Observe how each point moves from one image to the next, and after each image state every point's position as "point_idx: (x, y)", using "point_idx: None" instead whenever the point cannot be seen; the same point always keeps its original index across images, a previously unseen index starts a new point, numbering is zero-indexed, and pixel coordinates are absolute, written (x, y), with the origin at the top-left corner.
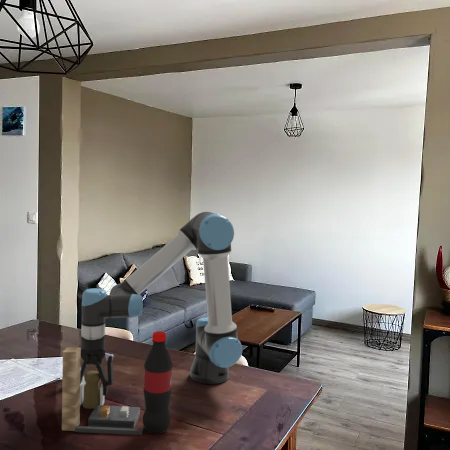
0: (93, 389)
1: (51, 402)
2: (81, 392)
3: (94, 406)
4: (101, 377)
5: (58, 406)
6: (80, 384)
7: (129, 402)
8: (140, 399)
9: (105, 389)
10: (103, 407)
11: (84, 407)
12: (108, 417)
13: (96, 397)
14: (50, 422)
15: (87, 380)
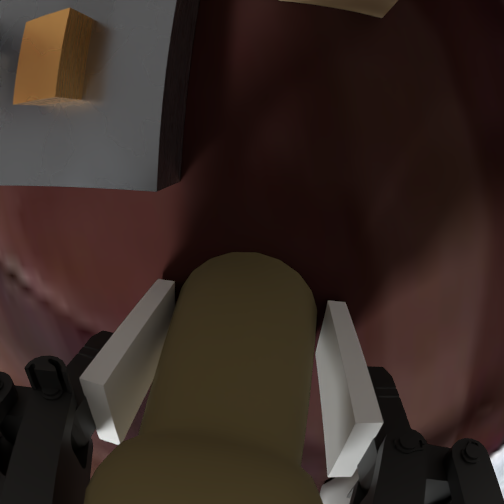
0: (186, 369)
1: (498, 334)
2: (341, 372)
3: (209, 264)
4: (37, 478)
5: (472, 288)
6: (365, 450)
7: (34, 318)
8: (10, 340)
9: (78, 366)
10: (51, 58)
11: (295, 271)
12: (43, 1)
13: (180, 317)
14: (485, 60)
15: (258, 484)
